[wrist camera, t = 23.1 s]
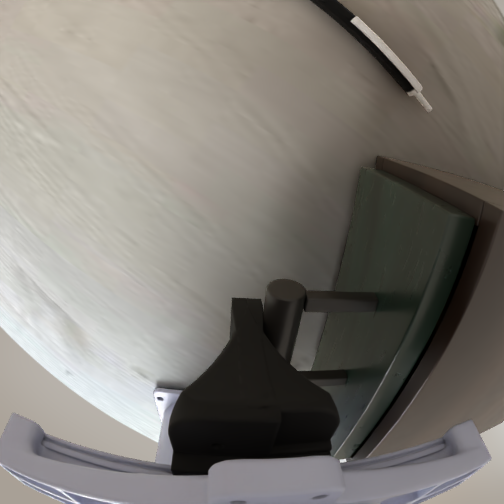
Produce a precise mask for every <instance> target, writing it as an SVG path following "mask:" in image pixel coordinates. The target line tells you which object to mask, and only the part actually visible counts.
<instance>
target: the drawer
mask: <svg viewBox="0 0 504 504" xmlns="http://www.w3.org/2000/svg"><path fill="white" fill-rule="evenodd" d="M474 224H475V219H474V218H473V217H471V216H470V215H468V214H466V213H465V212H463V211H461V210H459V209H458V208H456V207H454V206H452V205H451V204H449V203H447V202H445V201H443V200H442V199H440V198H438V197H436V196H434V195H432V194H430V193H428V192H426V191H424V190H423V189H421V188H419V187H417V186H415V185H413V184H411V183H408V182H406V181H404V180H402V179H400V178H398V177H396V176H394V175H392V174H389V173H387V172H385V171H383V170H379V169H374V168H368V167H361V170H360V176H359V182H358V188H357V193H356V199H355V204H354V209H353V214H352V219H351V224H350V229H349V234H348V238H347V243H346V247H345V252H344V256H343V260H342V264H341V268H340V273H339V277H338V281H337V284H336V288H335V291H309V290H306V289H305V288H304V286H303V285H301V284H300V283H298V282H296V281H293V280H288V279H277V280H274V281H272V282H270V283H269V284H268V286H267V289H266V297H265V305H264V312H263V332H264V333H265V335H266V336H267V338H268V339H269V341H270V342H271V343H272V345H273V346H274V347H275V348H276V350H277V351H278V352H279V353H280V354H281V355H282V357H283V358H284V359H285V360H286V361H287V362H288V363H289V364H290V362H291V358H292V354H293V350H294V346H295V342H296V338H297V333H298V329H299V325H300V320H301V316H302V312H303V308H304V311H305V312H329V314H328V318H327V321H326V325H325V328H324V331H323V335H322V338H321V341H320V345H319V348H318V351H317V354H316V357H315V361H314V364H313V367H312V370H311V371H298V372H299V373H300V374H302V375H303V376H304V377H306V378H307V379H308V380H310V381H311V382H312V383H314V384H316V385H317V386H319V387H321V388H322V389H324V390H325V391H327V392H329V393H330V395H331V397H332V399H333V401H334V403H335V405H336V407H337V410H338V413H339V417H340V424H339V426H338V428H337V430H336V431H335V433H334V435H333V436H332V438H331V439H330V440H331V444H332V450H331V451H330V453H331V457H334V458H336V459H346V458H350V457H351V456H352V455H353V453H354V452H355V451H356V450H357V448H358V447H359V446H360V445H361V443H362V442H363V441H364V440H365V438H366V437H367V436H368V434H369V433H370V432H371V435H372V434H373V432H374V431H375V430H376V428H377V427H378V426H379V424H380V423H381V422H382V420H383V419H384V417H385V416H386V415H387V413H388V412H389V410H390V409H391V408H392V406H393V405H394V403H395V402H396V400H397V399H398V397H399V396H400V394H401V393H402V391H403V390H404V388H405V386H406V385H407V383H408V382H409V380H410V378H411V377H412V375H413V373H414V372H415V370H416V368H417V367H418V365H419V363H420V362H421V360H422V358H423V356H424V354H425V353H426V350H425V349H424V347H425V345H426V343H427V341H428V339H429V337H430V336H431V334H432V332H433V330H434V327H435V325H436V323H437V321H438V319H439V317H440V315H441V313H442V311H443V308H444V306H445V304H446V302H447V299H448V297H449V295H450V292H451V290H452V287H453V285H454V282H455V280H456V277H457V275H458V273H459V274H460V275H462V273H463V270H464V268H465V265H466V262H467V259H468V256H469V254H470V251H471V248H472V245H473V242H474V238H475V235H476V232H477V229H478V226H476V225H474Z"/></svg>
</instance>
